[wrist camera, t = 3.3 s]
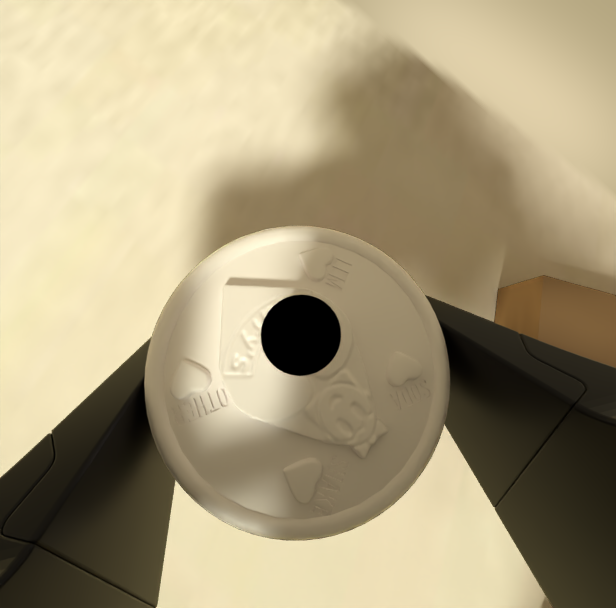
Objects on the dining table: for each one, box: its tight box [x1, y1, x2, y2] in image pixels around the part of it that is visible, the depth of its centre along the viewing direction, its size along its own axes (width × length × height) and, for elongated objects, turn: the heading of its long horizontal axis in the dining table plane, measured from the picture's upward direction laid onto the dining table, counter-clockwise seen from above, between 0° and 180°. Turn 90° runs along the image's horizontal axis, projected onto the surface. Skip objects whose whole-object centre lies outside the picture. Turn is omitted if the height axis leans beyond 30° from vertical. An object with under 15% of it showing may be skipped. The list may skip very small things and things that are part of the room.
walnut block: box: [495, 275, 616, 368], centre depth 15 cm, size 10×10×3 cm
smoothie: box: [144, 226, 450, 540], centre depth 9 cm, size 6×6×14 cm
